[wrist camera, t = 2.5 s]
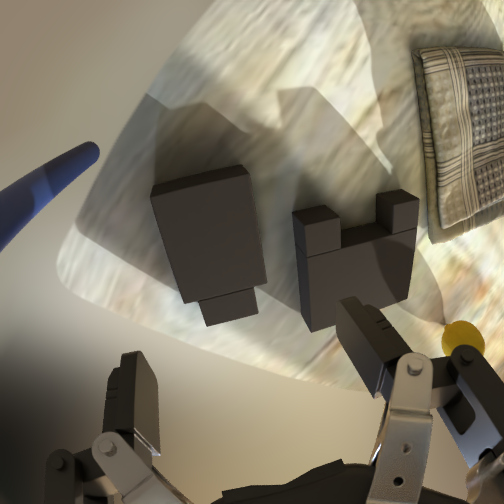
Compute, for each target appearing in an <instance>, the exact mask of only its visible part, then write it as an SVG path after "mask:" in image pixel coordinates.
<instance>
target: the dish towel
mask: <svg viewBox="0 0 504 504" xmlns="http://www.w3.org/2000/svg"><path fill="white" fill-rule="evenodd" d="M412 57H413V60H414V69H415V73H416V83H417V93H418V97H419V106H420V116H421V127H422V135H423V144H424V153H425V164H426V181H427V206H428V223H429V227H428V228H429V230H428V236H429V239H430V241H431V243H432V244H437V243H445V242H447V241H450V240H453V239H454V238H456V237H458V236H461V235H463V234H464V233H467V232H469V231H470V230H473V229H475V228H477V227H480V226H483V225H486V224H489V223H490V222H492V221H494V220H497V219H499V218H501V217H504V51H499V50H495V49H489V48H475V47H459V46H455V47H431V48H422V49H415V50H413V51H412Z"/></svg>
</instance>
